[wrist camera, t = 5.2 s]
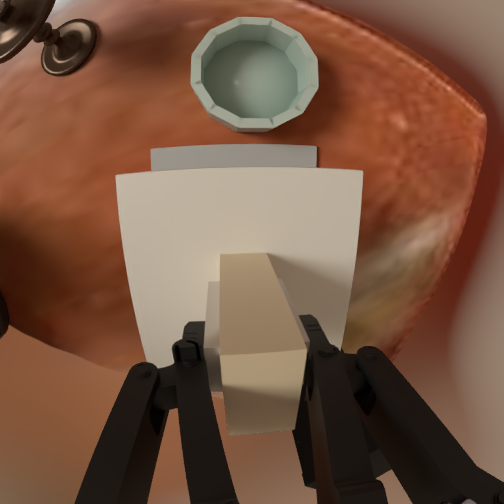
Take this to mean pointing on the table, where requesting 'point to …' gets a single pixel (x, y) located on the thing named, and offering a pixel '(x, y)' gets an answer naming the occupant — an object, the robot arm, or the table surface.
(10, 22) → the candlestick
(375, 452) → the black block
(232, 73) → the bowl
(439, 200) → the table surface
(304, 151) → the mat
